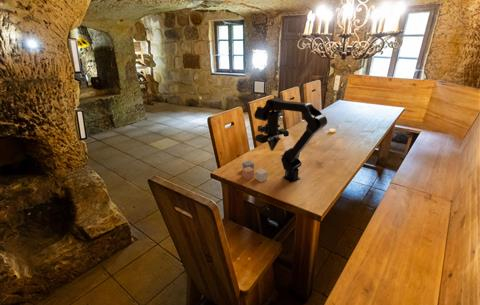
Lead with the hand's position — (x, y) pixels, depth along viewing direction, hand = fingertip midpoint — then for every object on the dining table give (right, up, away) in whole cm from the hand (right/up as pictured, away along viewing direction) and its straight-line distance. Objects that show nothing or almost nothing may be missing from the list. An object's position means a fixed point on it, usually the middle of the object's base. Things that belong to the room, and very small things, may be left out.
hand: (271, 150), depth 139 cm
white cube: (-6, -15, -3) cm, 17 cm away
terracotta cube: (-13, -14, -1) cm, 19 cm away
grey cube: (-13, -11, +6) cm, 18 cm away
